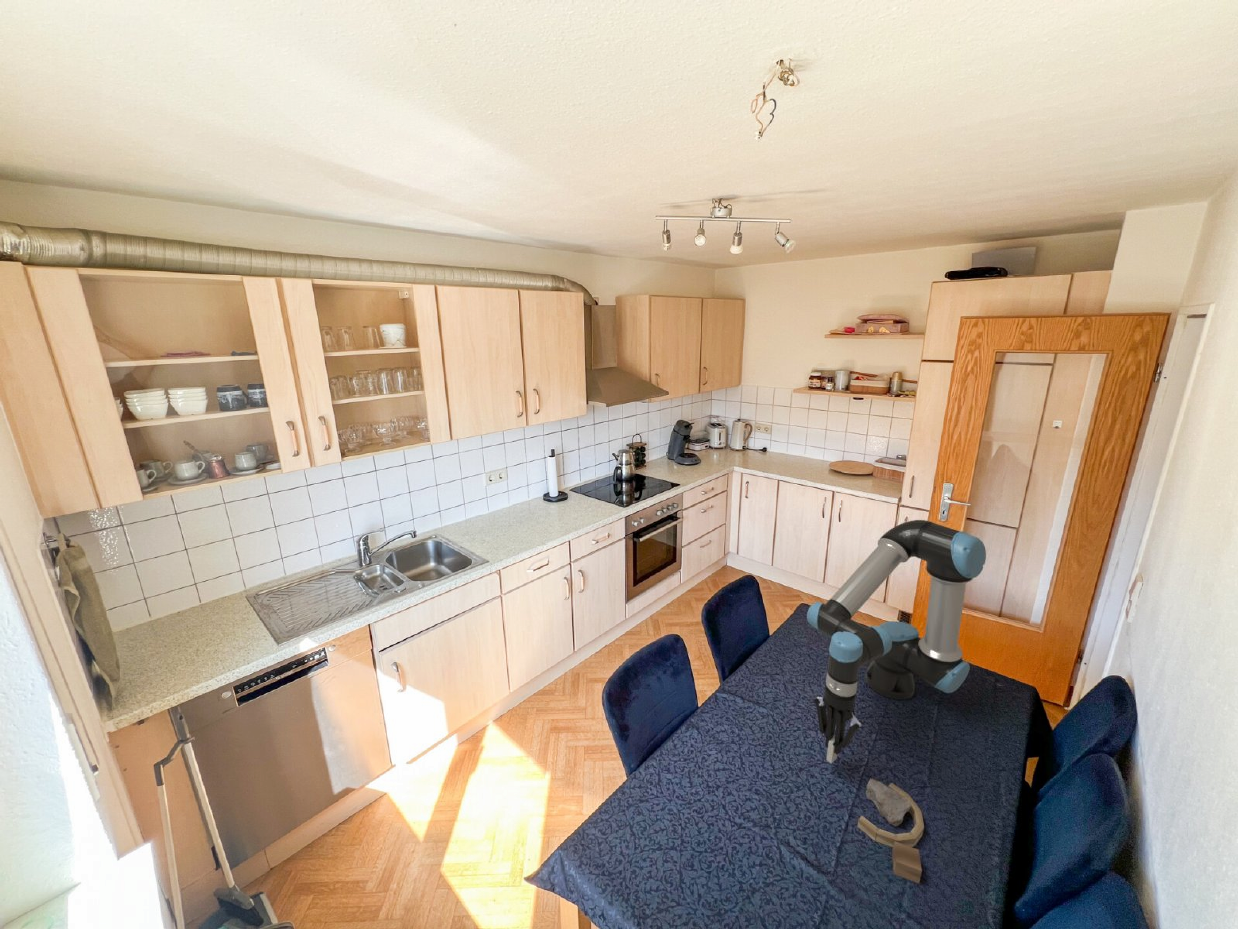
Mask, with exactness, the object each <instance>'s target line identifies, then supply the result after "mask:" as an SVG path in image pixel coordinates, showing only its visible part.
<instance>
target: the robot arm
mask: <svg viewBox="0 0 1238 929" xmlns="http://www.w3.org/2000/svg"><path fill="white" fill-rule="evenodd" d="M913 557H914V558H917V559H920V560H923V561H925V562H926V568H925V570H926V572H927V574H929V576H930V577H931V578H930V585H929V595H928V605H927V614H926V623H925V624H926V626H925V634H924V636H923V637H919V636H920V633H919V630H918V629H917V628H916V627H915V626H914V625H912V624H910V623H907V622H902V621H893V620H890V621H885V622H883V623H881V624H880V626H879V625H872V626H868V627H866V626H864V625H862V624H860V623H858V622H856V620H853V619H852V618H853V617H854V616H855V614H857V612H858V611H859V610H860V609H861V608H862V607H863V606H864V605H865V604H866V602H867V601H868V600H869V599H870V598H871V596H873V594H874V593H875V592H876V591H877V589H879V588H880V586H882V584H883V583H884V582H885V581H886V580H887V578H888V577H890V575H892V573H893V572H894V570H895V569H897V567H898V566H899V565H900V564H902V563H903V564H904V563H907V562H908V561H909V560H910V559H911V558H913ZM986 560H987V550H986V546H985V544H984V542H983V541H982V540H981V539H980V538H979V537H977V536H975V535H971V534H970V533H967V532H966V531H962V530H961V531H960V530H957V529H953V528H950V527H948V526H944V525H942V524H938V523H935V522H932V521H929V520H926V519H914V520H908V521H906V522H905V521H904V522H902V523H900V524H898V525H895V526H894V527H892V528H891V529H889V530H888V531H887V532H885V533H883V535H882V536H880V538H879V539H878V541H877V547H876V548H875V549H874V550H873V551H872V552H871V553H870V554H869V556H868V557H866V559H865V560H864V561H863V562H862V563H861V564H860V566H858V568H857V569H856V570H854V572H853V574H851V576H850V577H849V578H848V579H847V580H846V581H845V582H844V583H843V584H842V585H841V586H840V588H838V590H837V591H836V592H835V593H834V594H833V595H832V596H831V597H830V599H828V601H827V602H826V603H824V602H821V601H816V602H815V603H812V604H811V605H810V606H809V608H808V610H807V613H806V620H807V622H808V624H809V625H810V626H812V627H813V628H814V629H815V630H816V631H818V632H820V633H823V634H825V635H826V636H827V637H829V638H830V643H829V644H830V645H829V646H828V651H829V653H828V663H827V671H826V678H825V686H824V692H823V696H822V695H818V696H817V697H815V698H814V699H813V702H814V705H815V706H816V712H817V720H818V727H819V732H820V734H822V735H823V734H824V736H825V743H824V744H825V746H824V747H825V748H826V749H827V750H826V751H827V752H826V761H827V762H829V763H830V764H832V763H833V762H835V761H836V760H837V759H838V755H839V754H840V753H841V752H842V749H846V748H847V747H848V746H849V745H850V744H851V741H852V740H853V739H854V736H855V734H856V732H857V731H858V730H859V729H860V727H862V726H863V724H864V722H863V721H862V720H859V719H858V718H857V717H856V716H855V715H856V712H855V710H854V708H855V705H856V704H855V703H856V698H857V690H858V685H859V684H858V681H859V675H860V671H861V670H860V669H861V668H863V667H865V666H866V665H869V666H868V667H867V669H866V671H865V683H866V684H867V685H868V687H869V688H871V690H873V691H874V692H876V693H877V694H879V695H880V696H882V697H886V698H887V699H892V700H896V701H898V700H899V701H903V700H905V701H906V700H909V699H911V698H912V697H913V696H914V695H915V688H916V687H915V686H916V685H915V681H914V676H915V677H918V679H920V680H922V681H924V682H925V683H927V684H929V685H930V686H932V687H934V688H935V689H938V690H940V691H941V692H943V693H946V694H951V693H954V692H955V691H957V690H958V689H959V688H960V687H961V686H962V684H964V682H965V680H966V678H967V676H968V675H969V671H970V667H971V665H970V663H969V662H967V661H966V660H965V659H964V660H963V649H962V648H961V646H960V645H959V644H958V643H959V639H960V637H959V636H960V632H961V631H960V630H961V624H962V623H961V622H962V616H963V607H964V599H965V594H966V593H965V592H966V586H967V584H968V583H969V582H971V581H972V580H973V579H975V578H977V577H978V576H979V575H980V574H981V573H982V572H983V569H984V566H985V564H986ZM849 720H850V726H849V728H848V730H847V732H845V729H846V723H847V721H849ZM845 733H846V734H845Z"/></svg>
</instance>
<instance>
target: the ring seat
mask: <svg viewBox="0 0 1238 929" xmlns="http://www.w3.org/2000/svg"><path fill="white" fill-rule="evenodd" d="M887 787H888V788H889V789H891V790H895V791H898V792H899V793H900V795H901V796H903V797H905V798H907V799H908V801H909V802H910V803H911V806H910V809H909V811H907V812H908V813H909V814H910V815H911V817H912V820H913V825H914V827H913V828H912V829H911V830H910V832H903V833H894V832H893V833H892V832H889V831H886V830H885V829H884V830H883V829H881V828H878V827H877V826H876V825H874V824H873V823H872V822H870V821H869V820H868V819H867V818H866V817H865V816H864V815H861V816H860V817H859V818H858V820H857V825H856V827H857V828H858V829H860V830H861V831H862V832H863V833H864V834H866V835H867V836H868V837H869V838H871V839H872V840H873V841H875V842H876V843H879V844H881V845H882V844H883V845H885V846H888V847H890V848H893V845H894V841H895V842H898V843H901V844H904V845H906V846H909V847H912V848H914V847H915V846H916V845H917V843H918V842H919V841H920V839H921V838H922V837H923V834H924V829H925V824H924V818H923V813H922V810H921V809H920V808H919V806H918V805H917V803H916V802H915V801H914V800H913V798H912V797H911V796H910V794H908V793H907V792H905V791H904V790H903V789H901V788H900V787H898V786H897V785H895V784H894V783H892V782H891V783H889V785H888V786H887Z"/></svg>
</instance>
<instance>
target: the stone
mask: <svg viewBox="0 0 1238 929" xmlns="http://www.w3.org/2000/svg"><path fill="white" fill-rule="evenodd" d="M888 787H889V786H887V785H885V783H883V782H881V781H878V780H876V779H874V778H870V779H869V780H868V782H867V784H866V791H865V796H866V798H867V799H868V800H869V801H871V802H873V804H874V805H875V806H876V809H877V811H878V812H879V814H880V815H881V816H882V818H884V819H885V820H886V822H888V823H889V825H892V827H899V825H901V824H902V823H903V820H904V817H905V814H906V813H907V812H908V811H909V809H910V806H911V803H910V802H909V801H908V799H907V798H905V797H903V796H901V795H900V793H899V792H898V791H895V790H891V789H889V788H888Z"/></svg>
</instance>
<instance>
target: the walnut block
mask: <svg viewBox="0 0 1238 929" xmlns="http://www.w3.org/2000/svg"><path fill="white" fill-rule="evenodd" d="M891 857H892V858H891V859H892V868H893V875H895V876H897V877H900V878H903V879H906V880H909V881H911V882H914V883H917V884H920V882H921V881H920V880H921V876H922V872H923V869H922V863H921V855H920V849H917V848H914V847H909V846H906V845H904V844H901V843H898V842H895V841H894V845H893V847H892V850H891Z"/></svg>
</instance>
